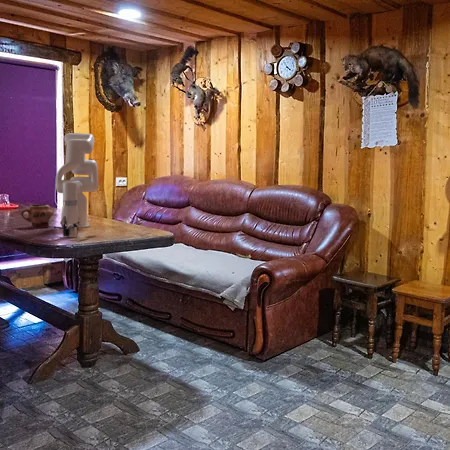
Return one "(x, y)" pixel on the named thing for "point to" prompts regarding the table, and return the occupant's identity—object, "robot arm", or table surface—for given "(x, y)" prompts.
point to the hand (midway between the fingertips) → (70, 234)
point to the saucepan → (70, 231)
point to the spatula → (82, 238)
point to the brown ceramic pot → (38, 215)
